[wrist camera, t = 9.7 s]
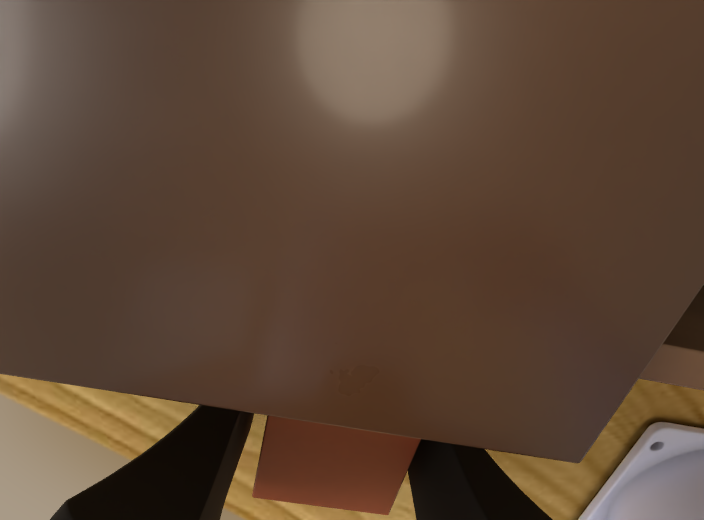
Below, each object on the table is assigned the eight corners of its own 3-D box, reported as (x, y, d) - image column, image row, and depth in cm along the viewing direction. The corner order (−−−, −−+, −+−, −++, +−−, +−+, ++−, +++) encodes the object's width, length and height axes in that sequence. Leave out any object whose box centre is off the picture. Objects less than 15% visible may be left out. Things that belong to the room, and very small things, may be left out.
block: (378, 410, 16) (388, 516, 12) (274, 393, 16) (251, 498, 12) (408, 325, 14) (431, 418, 11) (291, 304, 14) (271, 392, 10)
